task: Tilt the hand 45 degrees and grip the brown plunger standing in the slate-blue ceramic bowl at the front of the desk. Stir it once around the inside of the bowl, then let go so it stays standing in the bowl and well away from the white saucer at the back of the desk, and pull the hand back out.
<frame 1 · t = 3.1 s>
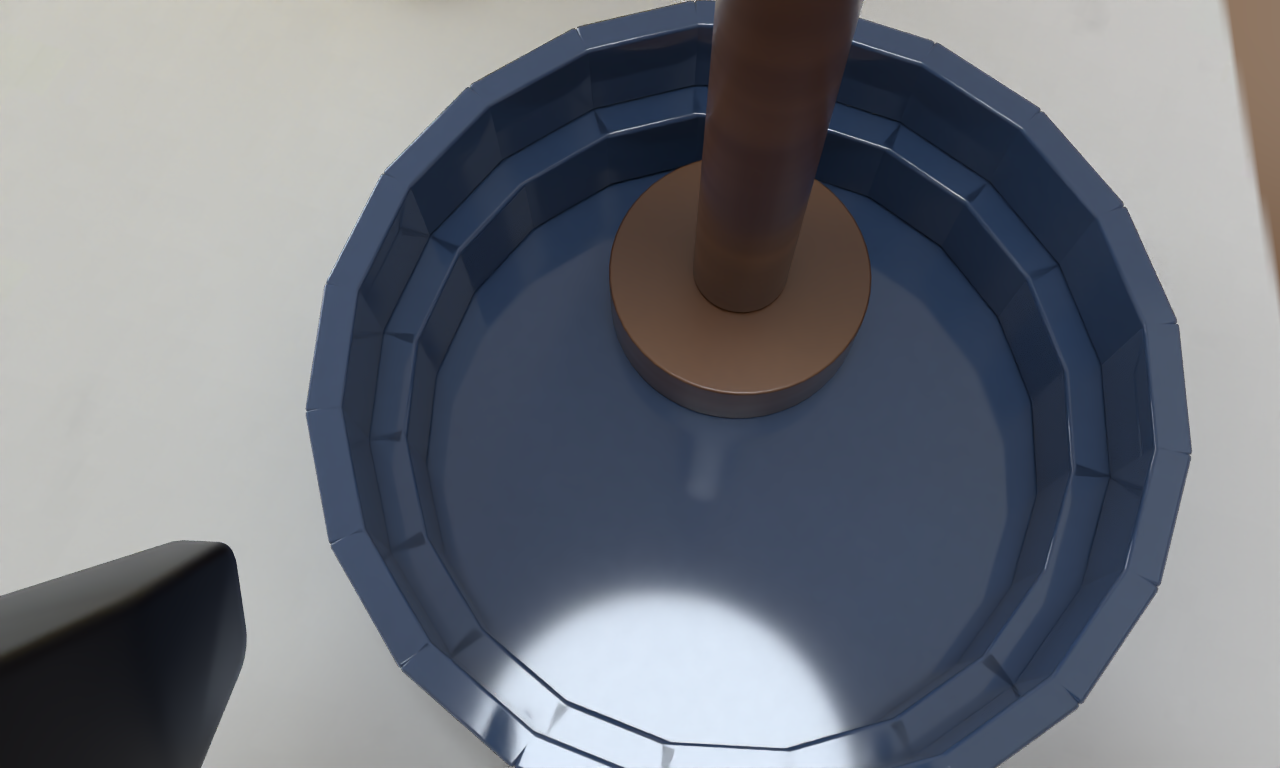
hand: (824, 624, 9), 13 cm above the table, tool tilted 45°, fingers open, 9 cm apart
bowl: (728, 442, 23), on the table
brown plunger: (734, 301, 24), point 1 cm above the table, touching bowl
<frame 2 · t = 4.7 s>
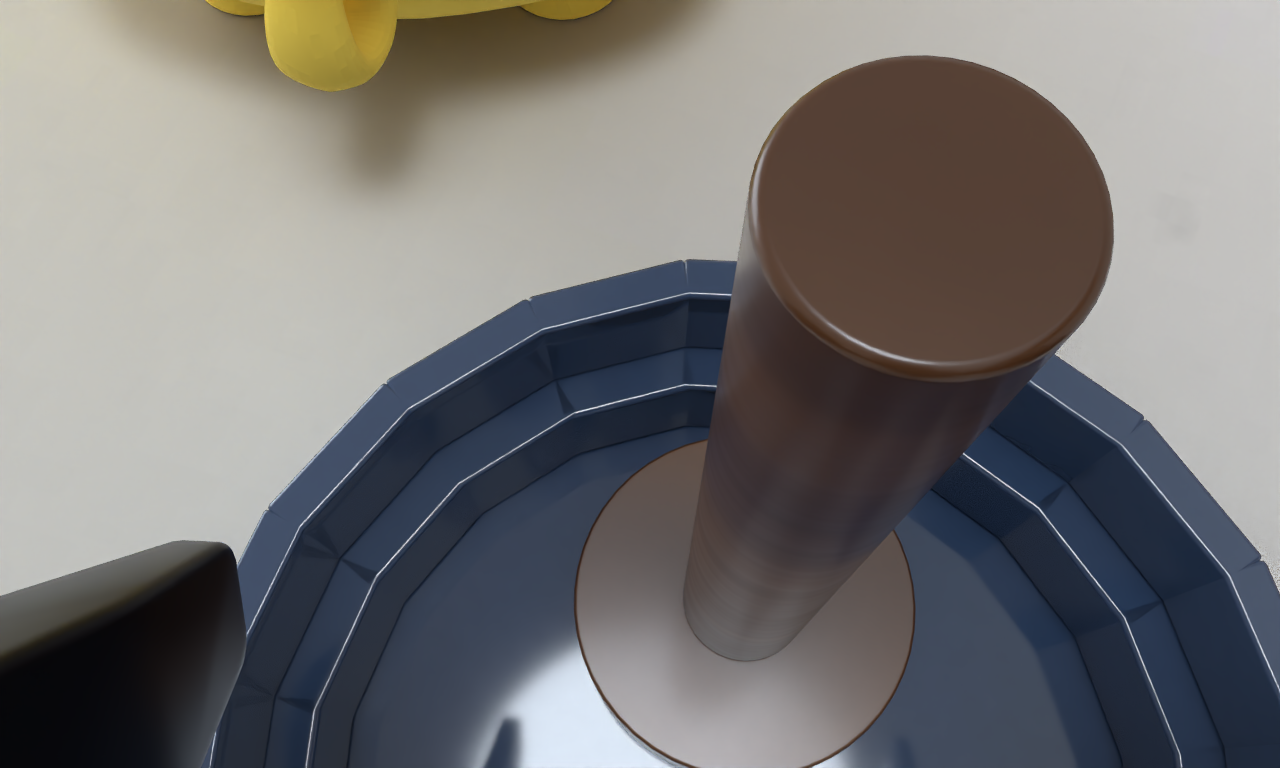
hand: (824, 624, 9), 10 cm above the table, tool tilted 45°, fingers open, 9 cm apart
brown plunger: (737, 613, 18), point 1 cm above the table, touching bowl
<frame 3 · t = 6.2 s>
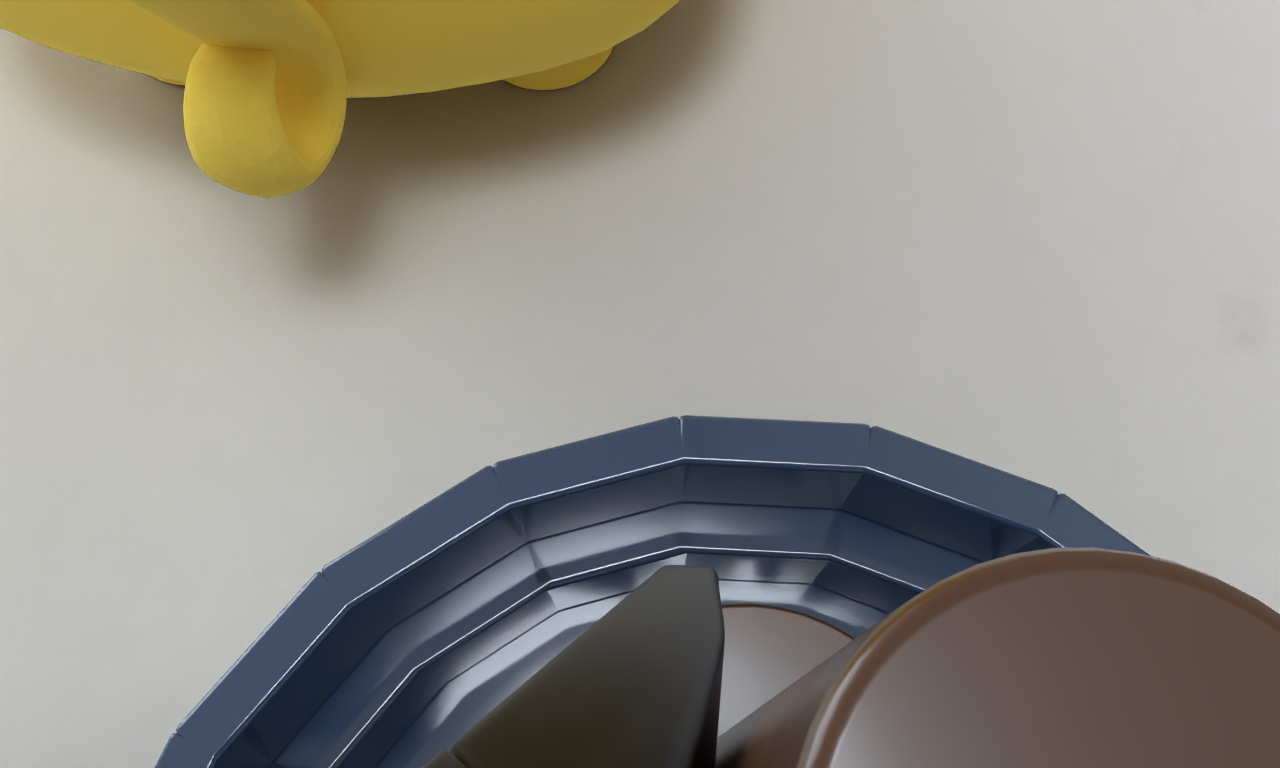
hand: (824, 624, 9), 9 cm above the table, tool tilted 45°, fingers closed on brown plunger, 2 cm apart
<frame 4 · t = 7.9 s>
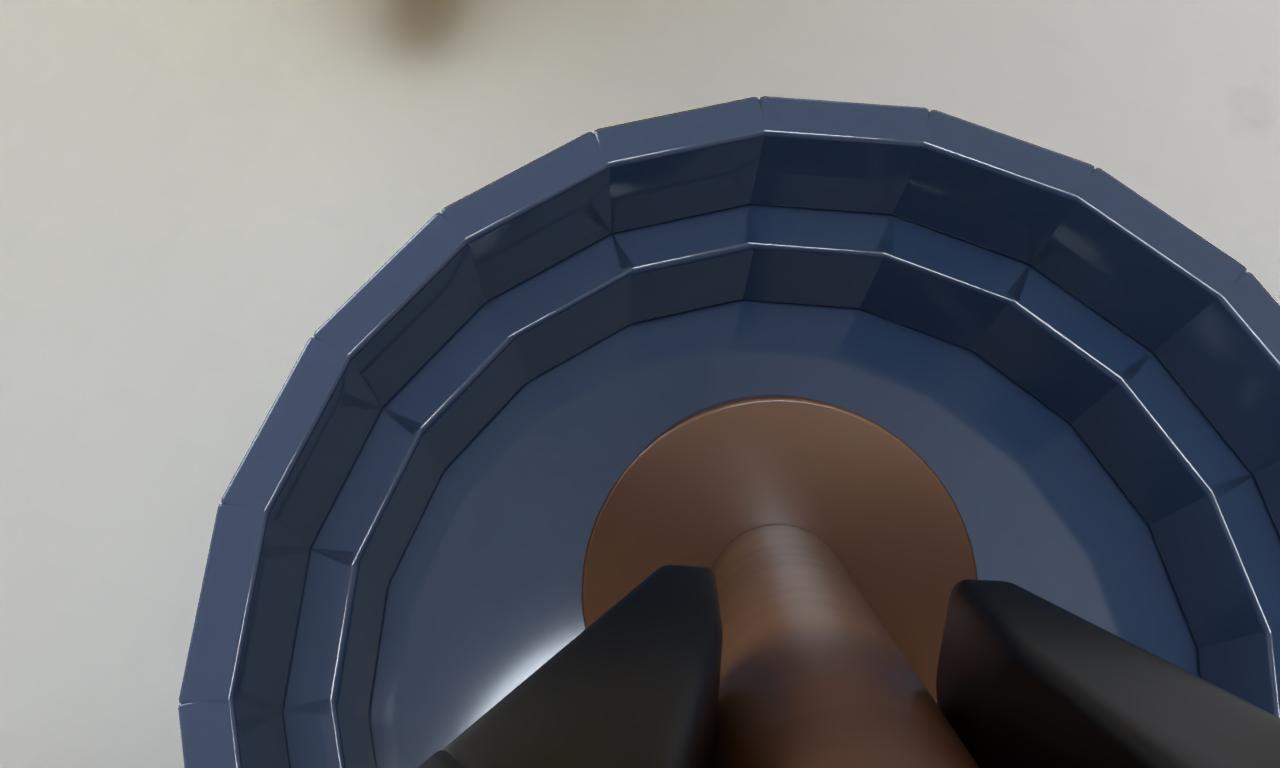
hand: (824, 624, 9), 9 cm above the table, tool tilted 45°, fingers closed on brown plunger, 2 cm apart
bowl: (782, 686, 17), on the table
brown plunger: (772, 574, 16), point 1 cm above the table, tilted 21°, touching gripper
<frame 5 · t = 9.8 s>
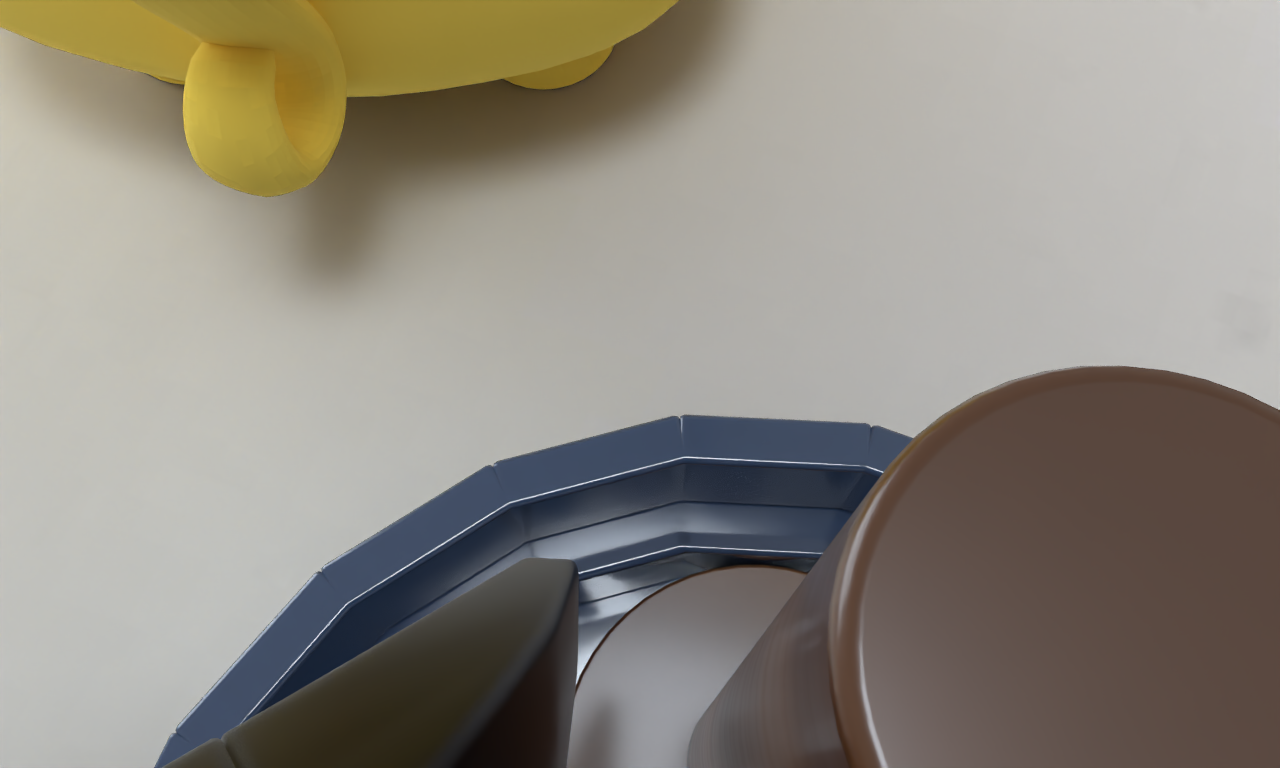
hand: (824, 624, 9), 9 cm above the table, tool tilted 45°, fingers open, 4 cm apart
brown plunger: (749, 765, 16), point 1 cm above the table, touching bowl
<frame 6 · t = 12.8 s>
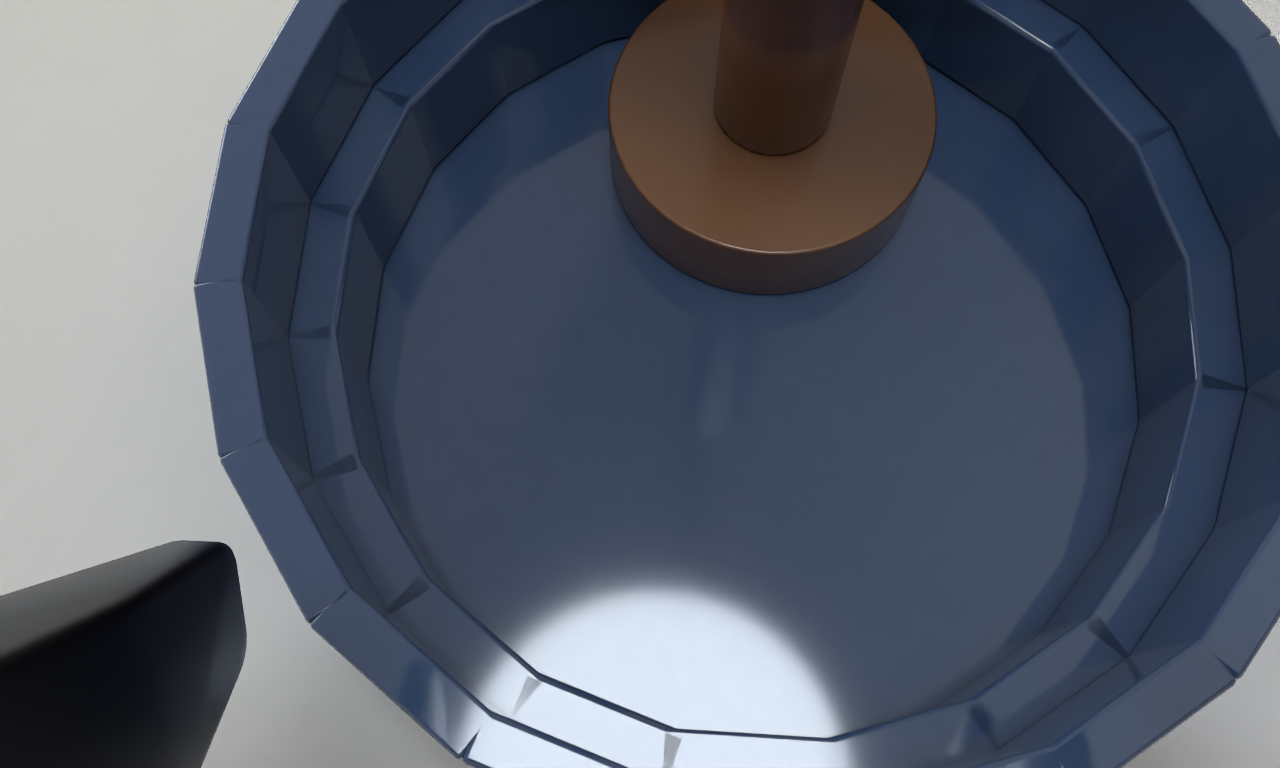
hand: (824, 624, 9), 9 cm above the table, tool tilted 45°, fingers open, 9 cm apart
bowl: (748, 357, 19), on the table
brown plunger: (763, 155, 19), point 1 cm above the table, touching bowl
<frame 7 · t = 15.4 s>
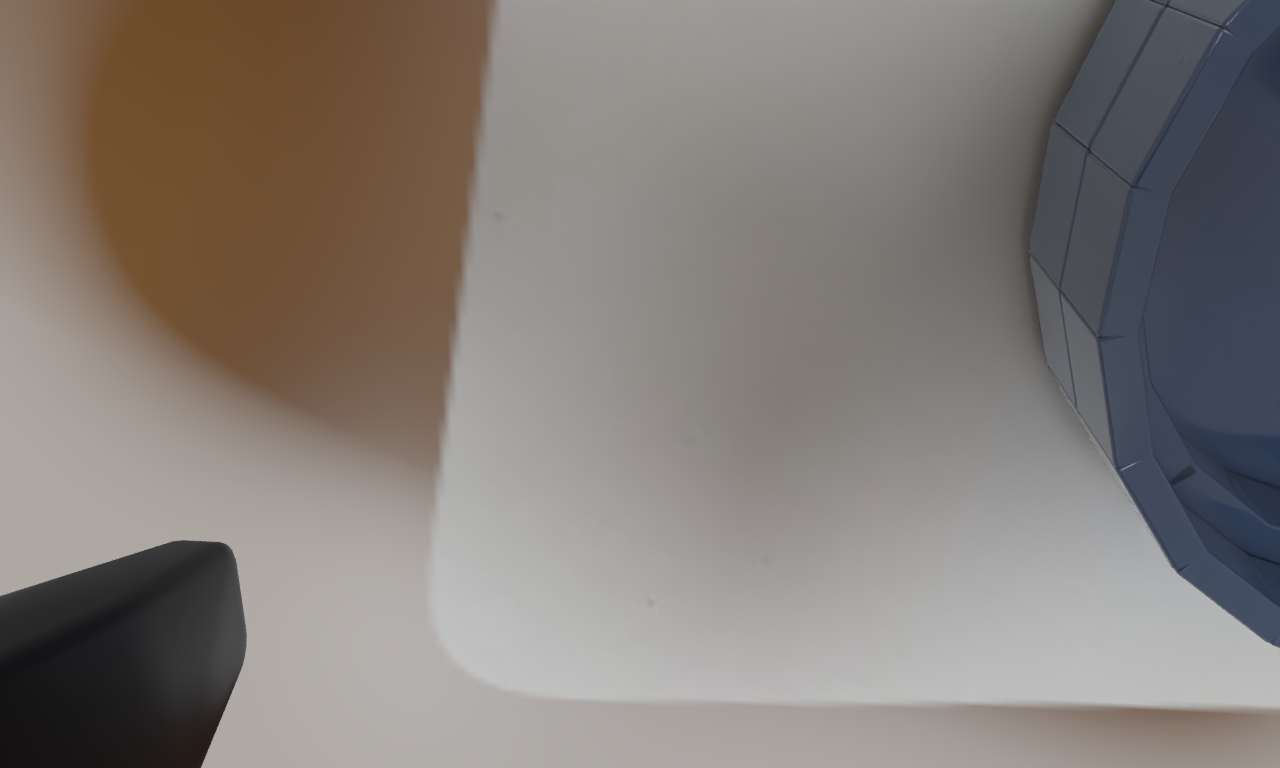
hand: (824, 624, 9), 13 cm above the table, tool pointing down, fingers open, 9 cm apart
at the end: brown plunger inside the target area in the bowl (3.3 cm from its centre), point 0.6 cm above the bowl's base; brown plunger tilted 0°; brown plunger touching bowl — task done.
